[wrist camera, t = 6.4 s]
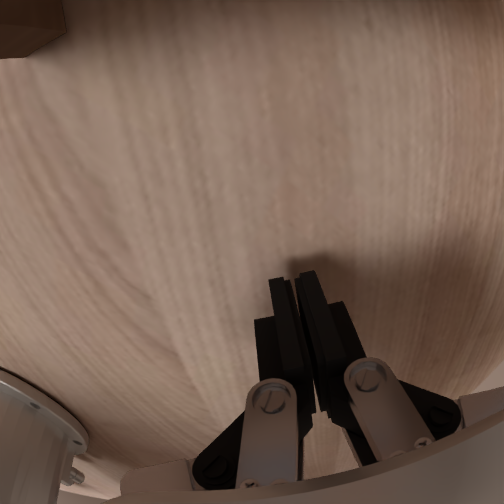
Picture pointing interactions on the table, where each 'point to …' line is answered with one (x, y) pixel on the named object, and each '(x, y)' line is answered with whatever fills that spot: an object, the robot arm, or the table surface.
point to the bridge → (28, 25)
